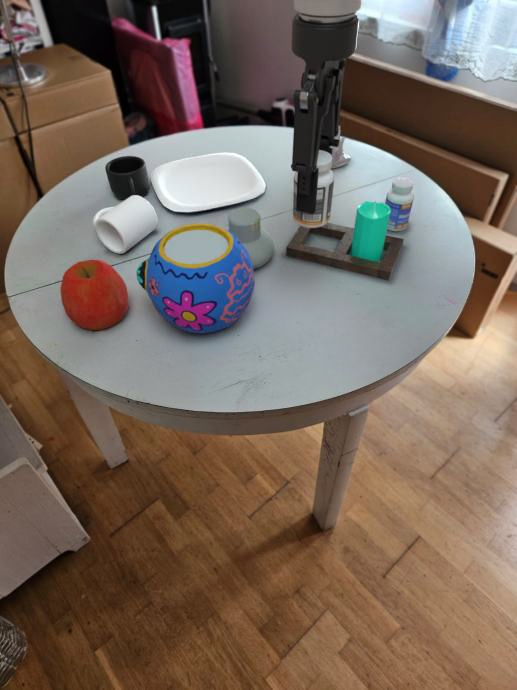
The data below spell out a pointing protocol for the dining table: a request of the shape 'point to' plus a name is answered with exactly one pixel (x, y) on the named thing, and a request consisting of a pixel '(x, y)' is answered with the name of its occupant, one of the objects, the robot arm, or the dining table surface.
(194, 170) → the plate
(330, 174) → the pill bottle
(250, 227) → the air freshener
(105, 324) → the apple
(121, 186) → the mug
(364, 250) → the candle
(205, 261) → the ceramic pot
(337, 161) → the seashell
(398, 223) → the pill bottle
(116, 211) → the mug
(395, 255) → the holder
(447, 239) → the dining table surface
